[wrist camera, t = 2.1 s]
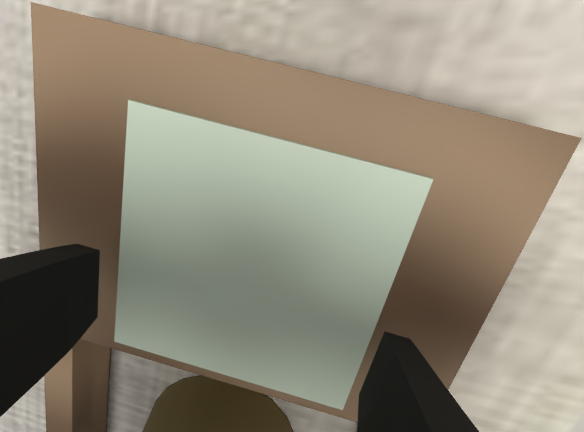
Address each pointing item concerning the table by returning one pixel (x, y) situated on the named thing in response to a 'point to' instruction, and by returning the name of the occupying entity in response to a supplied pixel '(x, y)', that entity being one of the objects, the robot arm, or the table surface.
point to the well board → (268, 214)
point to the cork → (214, 409)
